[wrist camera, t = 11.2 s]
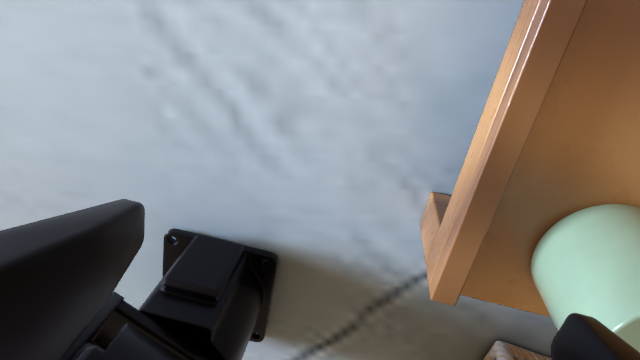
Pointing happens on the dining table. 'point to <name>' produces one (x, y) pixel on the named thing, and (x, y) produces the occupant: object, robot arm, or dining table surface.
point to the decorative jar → (511, 353)
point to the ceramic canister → (593, 268)
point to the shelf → (540, 149)
